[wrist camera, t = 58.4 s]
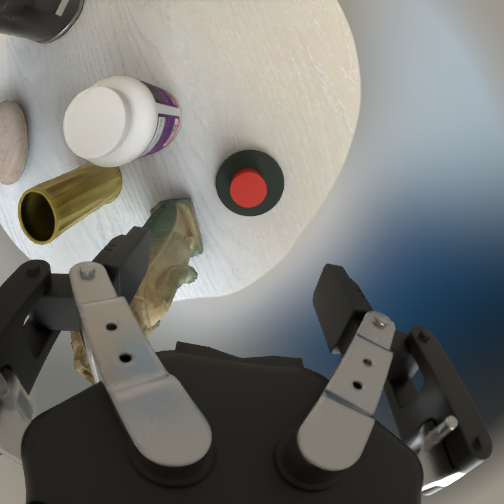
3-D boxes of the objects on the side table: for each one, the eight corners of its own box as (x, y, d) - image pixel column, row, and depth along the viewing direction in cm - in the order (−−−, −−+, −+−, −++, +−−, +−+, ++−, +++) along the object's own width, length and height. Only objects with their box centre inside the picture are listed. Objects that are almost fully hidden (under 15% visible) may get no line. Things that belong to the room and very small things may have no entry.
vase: (102, 148, 29) (30, 169, 16) (131, 181, 32) (72, 219, 19) (76, 181, 31) (7, 216, 18) (103, 212, 33) (44, 262, 20)
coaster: (202, 177, 32) (202, 178, 31) (256, 136, 30) (256, 136, 30) (243, 227, 35) (244, 228, 34) (296, 189, 33) (297, 190, 33)
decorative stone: (40, 174, 30) (19, 182, 25) (5, 184, 29) (-14, 193, 25) (34, 90, 24) (12, 90, 20) (-1, 109, 24) (-22, 112, 19)
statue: (167, 263, 37) (102, 429, 14) (143, 206, 33) (22, 344, 11) (215, 249, 36) (188, 430, 14) (193, 189, 32) (105, 331, 10)
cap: (255, 205, 33) (257, 213, 30) (225, 193, 32) (224, 199, 30) (269, 175, 32) (272, 181, 29) (239, 162, 31) (238, 166, 28)
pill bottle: (114, 100, 27) (44, 94, 14) (176, 80, 27) (132, 52, 14) (127, 160, 30) (62, 188, 17) (188, 144, 30) (151, 158, 17)
